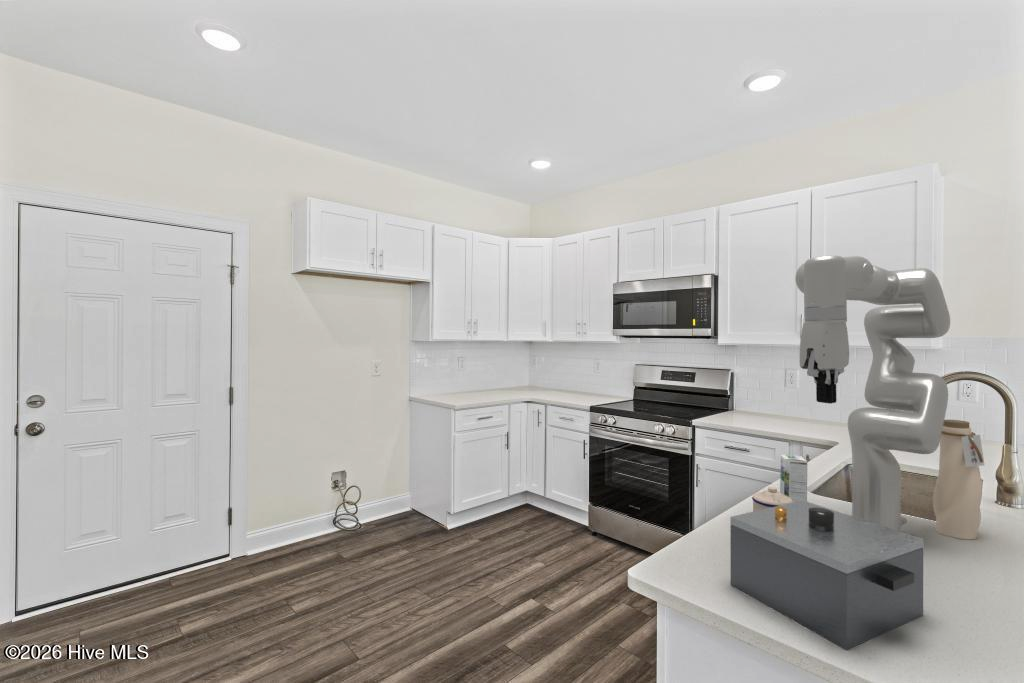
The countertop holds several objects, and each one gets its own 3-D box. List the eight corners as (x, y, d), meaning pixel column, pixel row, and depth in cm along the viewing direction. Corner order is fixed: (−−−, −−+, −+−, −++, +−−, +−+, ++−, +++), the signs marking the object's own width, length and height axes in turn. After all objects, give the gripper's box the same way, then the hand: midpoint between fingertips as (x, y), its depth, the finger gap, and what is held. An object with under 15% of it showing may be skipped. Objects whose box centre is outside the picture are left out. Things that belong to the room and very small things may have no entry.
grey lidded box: (792, 557, 107) (792, 504, 107) (939, 622, 82) (940, 553, 82) (720, 579, 98) (720, 520, 97) (863, 659, 73) (863, 581, 73)
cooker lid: (802, 507, 104) (802, 486, 104) (923, 547, 84) (923, 522, 84) (730, 524, 95) (730, 501, 95) (846, 573, 75) (846, 545, 75)
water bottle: (997, 540, 115) (997, 424, 115) (971, 545, 112) (972, 426, 112) (947, 524, 125) (948, 417, 125) (923, 528, 122) (923, 419, 122)
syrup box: (779, 502, 142) (779, 454, 141) (801, 504, 140) (801, 455, 140) (784, 509, 136) (784, 458, 136) (808, 511, 134) (808, 460, 134)
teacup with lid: (779, 545, 113) (779, 496, 113) (744, 531, 121) (744, 485, 121) (808, 534, 119) (808, 487, 119) (772, 522, 127) (772, 478, 127)
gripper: (829, 315, 107) (830, 397, 108) (784, 317, 101) (786, 403, 101) (865, 314, 100) (866, 401, 101) (820, 315, 94) (822, 408, 95)
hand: (826, 402), depth 101 cm, fingers closed
